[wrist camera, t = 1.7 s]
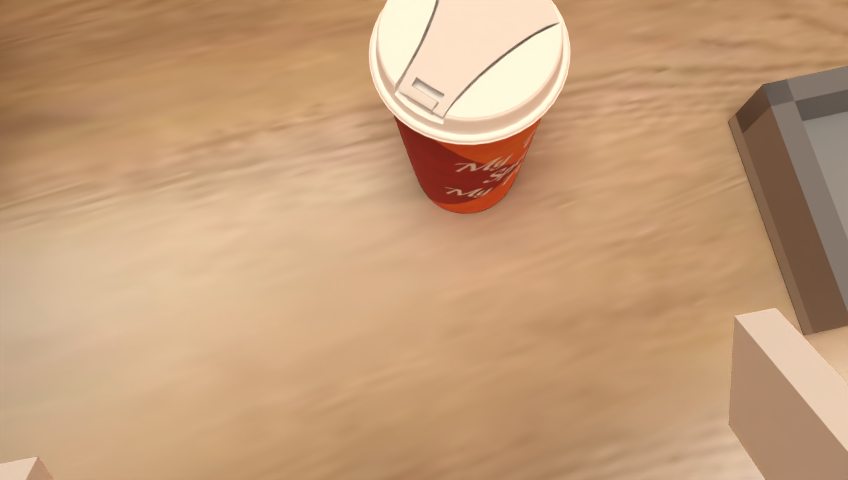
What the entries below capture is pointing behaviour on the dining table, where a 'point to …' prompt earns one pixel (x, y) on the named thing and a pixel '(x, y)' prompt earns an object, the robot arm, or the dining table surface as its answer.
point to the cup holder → (803, 187)
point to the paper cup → (468, 89)
